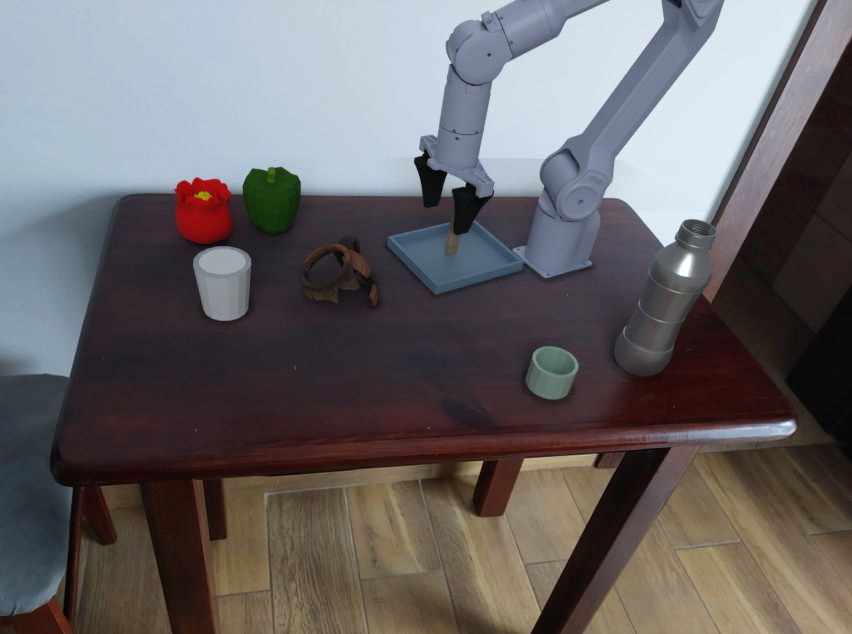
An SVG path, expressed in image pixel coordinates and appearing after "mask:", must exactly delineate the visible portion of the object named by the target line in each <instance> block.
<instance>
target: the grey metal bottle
mask: <svg viewBox="0 0 852 634" xmlns="http://www.w3.org/2000/svg"><path fill="white" fill-rule="evenodd" d="M717 235H718V230H717V228H716V227H715V226H714V225H712V224H710V223H709V222H707V221H706V220H705V221H704V220H701V219H696V218H687V219H684V220H683V221H682V222H681V224H680V226H679V228H678V230H677V232H676V233H675V235H674V241H673V242H670V243H669V244H667V245H665V246H664V247H662V248H661V249H659V251H657V253H656V254H654V256H653V257H652V258H651V261H650V263H649V266H648V270H647V275H646V279H645V282H644V286H643V289H642V292H641V294H640V298H639V301H638V303H637V306H636V308H635V310H634V311H633V313H632V315H631V317H630V319H629V320H628V322H627V324H626V325H625V326H624V328H623V329H622V330H621V332H620V333H619V334H618V336H617V338H616V340H615V342H614V348H613V356H614V359H615V362H616V363H617V365H618V366H619V367H620V368H621V369H622V370H623V371H625V372H627V373H629V374H631V375H633V376H638V377H642V378H643V377H644V378H645V377H653V376H655V375H657V374H659V373H661V372H662V371H663V370H664V369H665V368H666V367H667V366H668V364H669V363H670V361H671V359H672V356H673V352H674V347H675V343H676V341H677V338H678V335H679V332H680V330H681V327H682V324H683V323H684V322H685V319H686V317H687V316H688V314H689V313H690V311H691V309H692V307H693V306H694V304H695V303H696V302H697V301H698V299H699V297H700V296H701V295H702V294H703V292H704V291H705V290H706V288H707V287H708V285H709V284H710V282H711V280H712V277H713V264H712V259H711V257H710V255H709V252H708V251H711V249H712V248H713V246H714V241H715V240H716V237H717Z"/></svg>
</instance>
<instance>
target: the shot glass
mask: <svg viewBox="0 0 852 634" xmlns="http://www.w3.org/2000/svg"><path fill="white" fill-rule="evenodd" d="M192 266H193V267H192V268H193V270H194V276H195V280H196V284H197V288H198V293H199V297H200V301H201V302H200V303H201V306H202V310H203V312H204V313H205V315H206V316H207V317H209V318H210V319H213V320H215V321H221V322H225V321H228V322H229V321H234V320H237V319H239V318H241V317H243V316H244V315H246V313H247V312H248V311H249V303H250V286H251V271H252V258H251V257H250V255H249V254H248V252H246V251H244V250H243V249H241V248H238V247H233V246H229V245H228V246H227V245H225V246H223V245H222V246H221V245H220V246H213V247H209V248H208V247H207V248H206V249H203V250H202V251H200V252H198V253H197V254H196V256H194V258H193V263H192Z"/></svg>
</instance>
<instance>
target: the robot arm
mask: <svg viewBox="0 0 852 634" xmlns="http://www.w3.org/2000/svg"><path fill="white" fill-rule="evenodd" d="M610 1H611V0H513V1H511V2H509V3H507V4H506V5H503V6H502V7H500V8H498V9H496V10H494V11H492V12H491V11H490V10H486V11H484V12H482V13H481V14H480V17H481V20H480V19H476V20H474V19H466V20H465V21H462V22H461V23H459V24H458V25H456V26H455V28H454V29H453V31H452V32H451V33H450V35H449V37H448V39H446V40H445V52H446V56H447V57H448V59H449V61H450V63H449V64H448V70H447V74H446V83H445V85H444V89H443V96H442V101H441V102H442V103H441V109H440V116H439V123H438V130H437V136H435V135H434V134H426V135H420V139H419V145H418V146H419V147H418V150H419V151H421V153H422V154H421V155H419V156H415V157H414V159H413V164H414V166H415V168H416V171H417V174H418V178H419V182H420V187H421V194H422V203H423V207H424V208H425V209H431V208H434V207H439V204H440V202H441V199H442V195H443V194H442V193H443V190H444V185H445V182H446V179H447V176H448V174H449V175H452V176H453V177H456V178H458V179H460V180H462V181H463V182H464V183H465V185H464V186H459V187H454V188H451V195H452V198H453V205H454V207H455V215H454V224H453V232H454V234H455V235H461V234H465V233H468V231H469V229H470V227H471V225H472V223H473V222H474V220H476V218H477V216H478V214H479V213H480V212H481V211H482V209H483V208H484V206H485V205H487V203H488V202H490V200H491V199H492V198H493V197H494V195H495V189H494V187H495V183H496V182H495V180H493V179H492V178H491V177H490V176H489V174H488V172H487V171H486V169H485V168H484V166H483V163H482V162H481V160H480V159H479V156H480V150H481V146H482V140H483V136H484V131H485V125H486V121H487V115H488V110H489V105H490V100H491V95H492V94H491V93H492V92H491V91H492V85H493V81H494V80H496V78H498V76H499V75H500V74H501V72H502V71H503V68H504V67H505V65H506V64H507V63H510V62H512V61H514V60H515V59H517V58H520V57H521V56H523V55H525V54H527V53H529V52H531V51H533V50H535V49H537V48H539V47H541V46H542V45H545V44H547V43H548V42H550V41H552V40H554V39H557V38H558V37H560V34H561V33H562V30H563V29H564V25H565V24H566V22H567V21H568V20H570V19H572V18H575V17H576V16H579V15H581V14H583V13H585V12H588V11H590V10H592V9H595V8H597V7H599V6H601V5H603V4H605V3H607V2H610ZM725 1H726V0H661V8H662V16H663V21H662V24H661V25H660V27H659V28H658V30H657V31H656V32H655V33H654V34H653V36H652V38H651V39H650V40H649V42H647V44H646V46H644V48H643V50H642V51H641V53H640V54H639V56H637V58H636V59H635V61H634V62H633V64H632V65H631V66H630V68H629V69H628V70H627V72H626V73H625V74H624V76H623V77H622V79H621V80H620V81H619V83H618V84H617V86H616V87H614V89H613V91H612V92H611V94H610V95H609V96H608V98H607V99H606V100H605V102H604V103H603V104H602V106H601V107H600V109H599V110H598V111H597V113H596V114H595V115H594V117H593V118H592V119H591V120H590V122H589V124H588V125H587V126H586V128H585V129H584V130H583V132H581V133H580V134H577V135H574V136H571V137H569V138H567V139H566V140H565V141H564V143H563V144H562V146H561V147H560V148H558V149H557V150H555V151H554V152H552V153H551V154H549V155H548V156H547V157H546V158H545V159H544V161H542V164H541V166H540V168H539V179H540V182H541V184H542V186H543V188H542V193H541V194H540V195H539V198H538V202H537V205H536V209H535V212H534V217H533V219H532V224H531V226H530V231H529V234H528V238H527V242H526V244H525V245H521V246H517V247H514V248H512V249H511V251H512V252H513V253H515V254H516V255H517V256H518V257H519V258H521V259H522V260H523V261H524V264H525V265H526V266H527V267H529V268H530V269H533V270H534V271H535V272H536V273H538V274H539V275H540V276H541V277H542V278H544V279H549V278H552V277H555V276H559V275H562V274H566V273H569V272H573V271H579V270H582V269H583V270H584V269H586V268H590V267H592V266H593V262H592V261H591V260H590V257H591V254H592V251H593V248H594V246H595V243H596V241H597V237H598V234H599V231H600V228H601V214H600V212H599V209H600V208H601V205H602V203H603V200H604V196H605V193H606V191H607V190H608V188H609V186H610V185H611V184H612V182H613V180H614V173H615V172H614V171H615V161H616V158H617V157H618V155H619V154H620V153H621V151H622V150H623V149H624V147H625V146H626V145H627V144H628V143H629V141H630V140H631V139H632V137H633V136H634V135H635V134H636V132H637V131H638V130H639V129H640V127H641V126H642V124H644V122H645V121H646V119H647V118H648V117H649V116H650V115H651V113H652V112H653V110H654V109H656V107H657V106H658V104H659V103H660V102H661V101H662V99H663V98H664V97H665V95H666V94H667V93H668V91H669V90H670V89H671V88H672V87H673V85H674V84H675V82H676V81H677V80H678V79H679V78H680V76H681V75H682V73H684V71H686V68H687V67H688V66H689V64H690V63H691V62H692V61H693V59H694V58H695V57H696V56H697V55H698V53H699V52H700V51H701V49H702V48H703V47H704V46H705V44H706V43H707V42H708V40H709V39H710V38H711V36H712V35H713V33H714V32H715V30H716V27H717V24H718V22H719V19H720V16H721V13H722V10H723V7H724V3H725Z"/></svg>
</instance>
